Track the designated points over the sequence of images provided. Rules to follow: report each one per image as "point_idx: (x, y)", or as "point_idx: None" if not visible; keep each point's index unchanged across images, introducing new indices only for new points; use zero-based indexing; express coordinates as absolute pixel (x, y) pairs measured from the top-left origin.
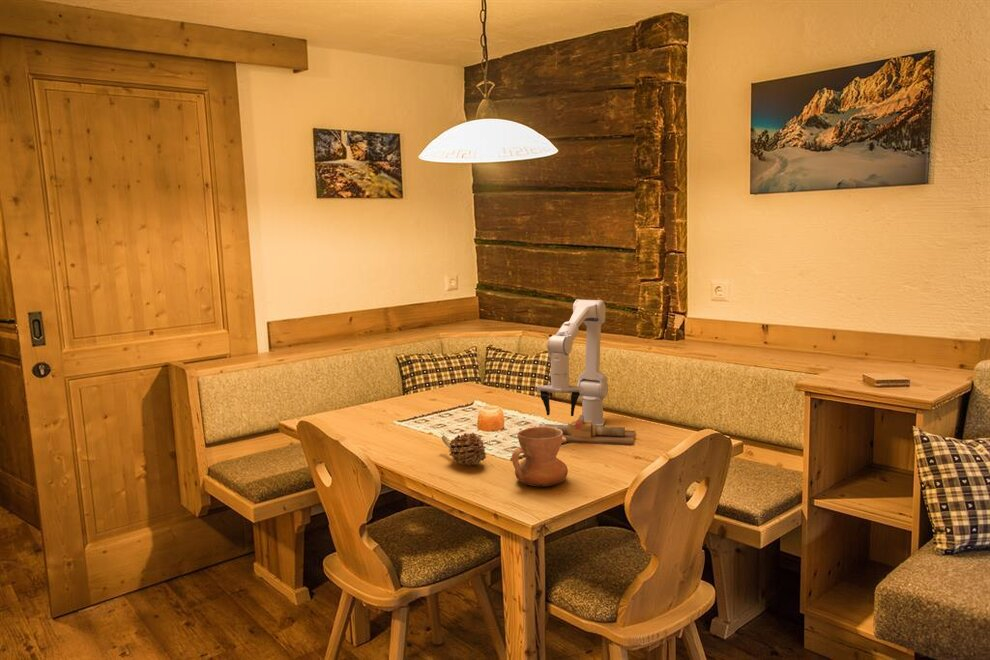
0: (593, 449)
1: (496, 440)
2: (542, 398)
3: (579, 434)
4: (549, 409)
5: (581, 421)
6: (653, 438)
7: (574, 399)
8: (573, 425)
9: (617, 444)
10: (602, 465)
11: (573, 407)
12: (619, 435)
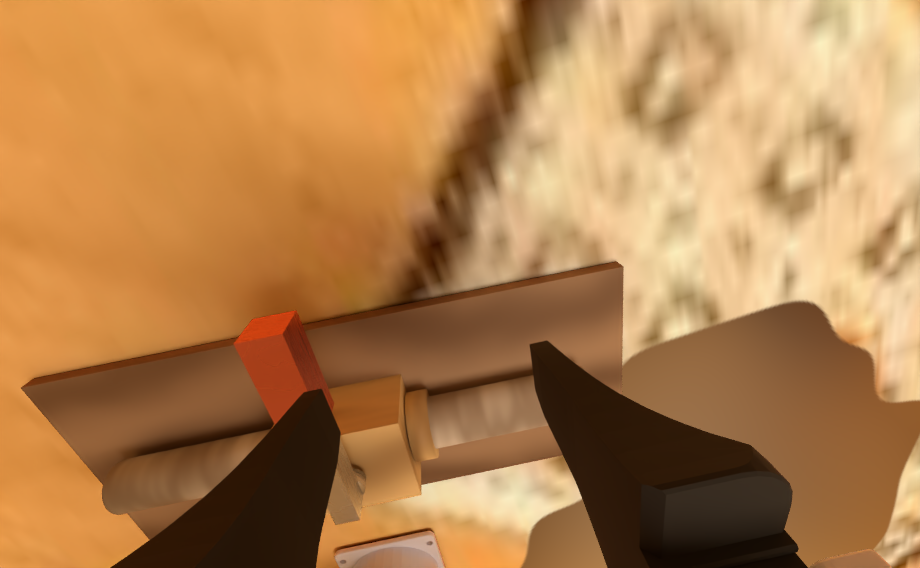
0: (198, 243)
1: (785, 211)
2: (703, 439)
3: (354, 392)
4: (548, 413)
5: (267, 401)
6: (27, 500)
7: (151, 559)
8: (383, 423)
9: (119, 362)
10: None
11: (253, 456)
12: (153, 453)
